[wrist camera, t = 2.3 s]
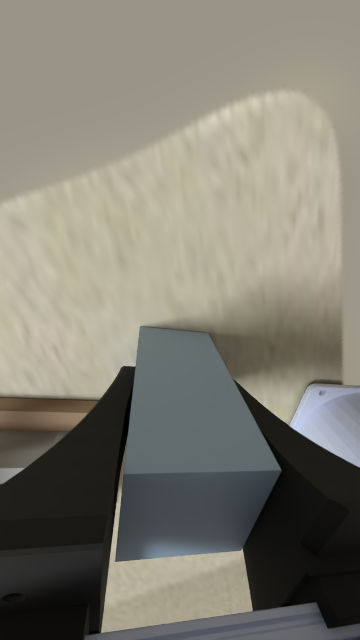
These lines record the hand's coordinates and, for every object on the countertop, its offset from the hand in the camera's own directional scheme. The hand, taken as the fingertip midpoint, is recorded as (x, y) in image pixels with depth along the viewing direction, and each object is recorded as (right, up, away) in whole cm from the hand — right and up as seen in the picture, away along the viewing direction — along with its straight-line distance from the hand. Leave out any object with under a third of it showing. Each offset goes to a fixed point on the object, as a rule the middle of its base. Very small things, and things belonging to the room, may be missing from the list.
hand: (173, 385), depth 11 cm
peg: (0, +1, +2) cm, 2 cm away
